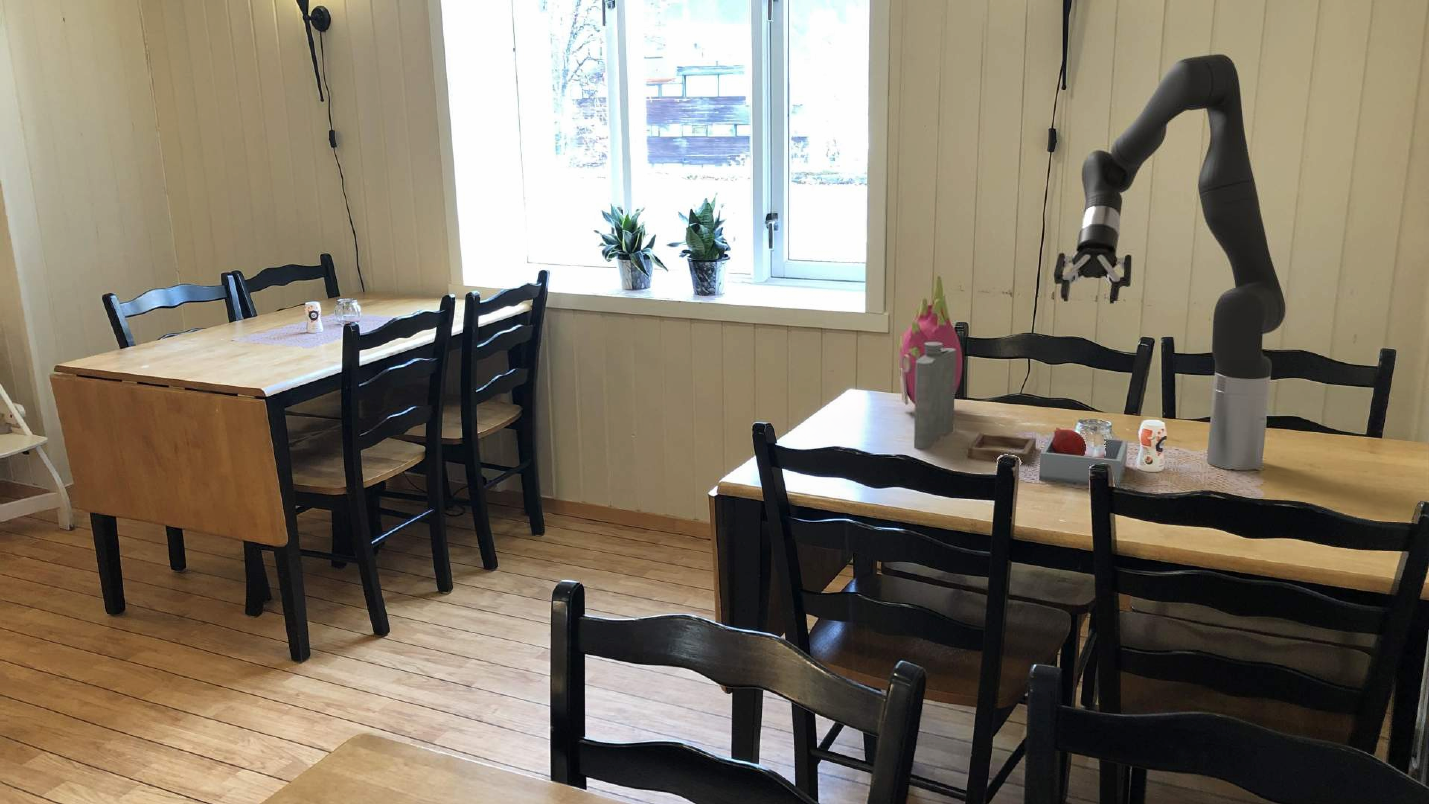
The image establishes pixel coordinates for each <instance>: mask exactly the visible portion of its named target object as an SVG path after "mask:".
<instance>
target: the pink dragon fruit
mask: <svg viewBox="0 0 1429 804" xmlns="http://www.w3.org/2000/svg"><path fill="white" fill-rule="evenodd" d="M942 281H943V280H942V277H941V276H940V275H938V276H937V277H936V283H935V288H934V292H933V296H932V301H931V302H930V303H931V304H929V305H928V299H927V298H926V297H924V298H923V299H922V300H921V302H920V306H919V307H920V308H918V307H917V308H916V313H917V314H916V317H915V320H914V321H913V322H912V324H911V325H910V326H909V328H908V329H907V330H906V332H905V333H904V334H903V335H900V339H899V354H900V356H899V357H900V358H899V369H898V370H899V371H898V372H899V373H898V374H899V382H900V383H899V384H900V393H901V401H902V402H903V403H904V404H905V405H906V406H907V405H909V400H910V401H911V403H913V405H915V377H916V361H917V360H918V359H919V358H921V357H922V356H924V355H926V353H925V349H926V348H924V343H927V342H939V343H942V344H943V348H953V349H956V365H955V394H956V393H957V390H958V388H959V386H960V382H961V378H962V372H963V354H962V347H961V344H960V339H959V337H958V335H957V333H956V330H955V327H954V326H953V325H952V323H951V318H950V315H949V311H948V305H947V301H946V294H944V291H943V290H944V289H943V284H942ZM941 349H942V348H941Z"/></svg>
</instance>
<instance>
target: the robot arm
mask: <svg viewBox="0 0 1429 804" xmlns="http://www.w3.org/2000/svg"><path fill="white" fill-rule="evenodd" d="M1242 106H1243V105H1242V96H1241V87H1240V79H1239V74H1238V71H1237V68H1236V65H1235V64H1234V62H1233V60H1232V59H1231V58H1230V57H1229V56H1227V55H1226V54H1221V53H1217V54H1209V55H1208V54H1207V55H1201V56H1200V55H1199V56H1193V57H1187V58H1184V59H1181V60H1178V61H1177V62H1176V63H1174V64H1173V66H1171V68H1170V69H1169V70H1168V71H1167V73H1166V74H1165V75H1164V77H1163V78H1162V80H1161V82H1160V83H1159V85H1158V86H1157V88H1156V90H1155V91H1154V92H1153V94H1152V96H1151V97H1150V99H1149V100H1148V102H1147V104H1146V105H1145V107H1144V108H1143V110H1142V111H1141V113H1140V114H1139V115H1138V116H1137V117H1136V118H1135V120H1134V121H1133V122H1132V123H1131V124H1130V125H1129V127H1127V128H1126V129H1125V131H1123V132H1122V133H1121V135H1120V136H1119V137H1118V138H1116V140H1115V141H1114V142H1113V144H1112V145H1111V150H1110V152H1107V151H1105V150H1102V149H1100V150H1099V149H1098V150H1093V151H1092V152H1091V153H1089V154H1088V155H1087V156H1086V157H1085V159H1084V160H1083V161H1084V162H1083V164H1082V167H1081V181H1082V186H1083V191H1084V197H1085V205H1084V209H1083V216H1082V219H1081V222H1080V226H1079V233H1078V238H1077V244H1076V251H1075V253H1074V255H1072V256H1070V255H1066V254H1065V253H1064V252H1059V254H1058V257H1057V261H1056V264H1055V268H1054V271H1053V280H1054V284H1056V285H1059V284H1060V285H1061V287H1060V297H1061V299H1062V300H1063V302H1069V295H1070V291H1071V285H1072V284H1074V282H1077V281H1079V280H1080V279H1081V278H1082V277H1084V279H1086V278H1087V279H1088V278H1089V279H1091V278H1095V279H1101V278H1103V277H1104V279H1105V280H1106V281H1107V282H1108V283H1110V292H1109V304H1111V305H1113V304H1115V302H1117V301H1118V300H1119V294H1120V289H1121V288H1122V287H1125V288H1126V287H1127V288H1128V287H1130V286H1131V284H1132V283H1131V282H1132V265H1133V262H1132V261H1133V260H1132V259H1133V258H1132V255H1131V254H1126V255H1124V257H1117V248H1118V242H1119V236H1120V230H1121V229H1120V228H1121V213H1122V207H1123V197H1122V195H1121V194H1122V193H1124V192H1126V191H1128V190H1130V188H1131V187H1132V185H1133V183H1134V181H1135V178H1136V176H1137V174H1138V171H1139V170H1140V169H1141V167H1142V165H1143V164H1144V163H1145V162H1146V161H1147V160H1148V159H1149V158H1150V157H1151V156H1152V155H1153V154H1155V152H1156V151H1157V150H1158V149H1159V148H1160V147H1161V146H1162V145H1163V142H1164V141H1165V137H1166V134H1167V127H1168V124H1169V123H1170V122H1171V121H1172V120H1173V119H1175V118H1176V117H1178V116H1179V115H1180V114H1182V113H1184V112H1186V111H1196V110H1197V111H1198V110H1203V109H1205V110H1206V112H1207V117H1208V124H1209V133H1210V138H1209V143H1208V144H1209V145H1208V148H1207V151H1206V155H1205V157H1204V160H1203V162H1202V166H1201V169H1200V171H1199V176H1198V184H1197V187H1198V194H1199V199H1200V204H1201V208H1202V214H1203V217H1204V218H1203V219H1204V221H1205V223H1206V226H1207V227H1208V229H1209V230H1210V232H1211V234H1212V235H1213V237H1214V238H1215V240H1216V241H1217V243H1218V244H1219V245H1220V247H1221V249H1222V250H1223V252H1224V253H1225V255H1226V256H1227V259H1228V261H1229V264H1230V267H1231V270H1232V276H1233V280H1234V288H1231V289H1228V290H1225V292H1223V293H1222V294H1221V295H1220V296H1219V298H1218V299H1217V302H1216V303H1215V307H1214V311H1213V312H1214V313H1213V320H1212V341H1211V342H1212V343H1211V344H1212V345H1211V354H1212V357H1213V360H1214V363H1215V364H1214V365H1215V366H1214V367H1215V368H1214V377H1213V378H1214V380H1213V389H1212V390H1213V391H1212V400H1211V412H1210V419H1209V421H1210V422H1209V432H1208V441H1207V442H1208V443H1207V452H1206V453H1207V455H1206V462H1207V463H1208V464H1210V465H1212V466H1214V467H1217V468H1221V469H1225V470H1231V469H1235V470H1234V471H1248V470H1247V469H1262V468H1263V460H1264V449H1265V439H1266V432H1267V422H1268V421H1267V418H1268V417H1267V414H1268V406H1269V405H1268V404H1269V395H1270V394H1269V393H1270V386H1271V385H1270V384H1271V375H1272V367H1273V363H1272V360H1271V359H1270V357H1268V356H1265V355H1264V353H1263V335H1266V334H1269V333H1272V332H1274V331H1275V330H1277V329H1278V328H1279V327H1280V326H1281V325H1282V323H1283V321H1284V318H1285V316H1286V302H1285V297H1284V295H1283V294H1284V293H1283V291H1282V288H1281V284H1280V281H1279V279H1278V275H1277V273H1276V269H1275V267H1274V264H1273V261H1272V257H1271V254H1270V250H1269V245H1268V239H1267V236H1266V231H1265V226H1264V223H1263V217H1262V214H1261V208H1260V201H1259V200H1260V199H1259V196H1258V191H1257V185H1256V181H1255V177H1254V173H1253V170H1252V165H1251V164H1252V163H1251V160H1250V155H1249V150H1248V149H1249V148H1248V143H1247V138H1246V133H1245V126H1244V125H1245V124H1244V117H1243V107H1242ZM1070 264H1072V266H1071V267H1070V269H1069V270H1068V272H1066V273H1065V274H1064V270H1065V269H1066V268H1067V267H1069V265H1070ZM1118 265H1119V266H1120V269H1122V270H1123V276H1119V275H1118V274H1117V272H1116V271H1115V269H1114V268H1116V267H1117V266H1118Z"/></svg>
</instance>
